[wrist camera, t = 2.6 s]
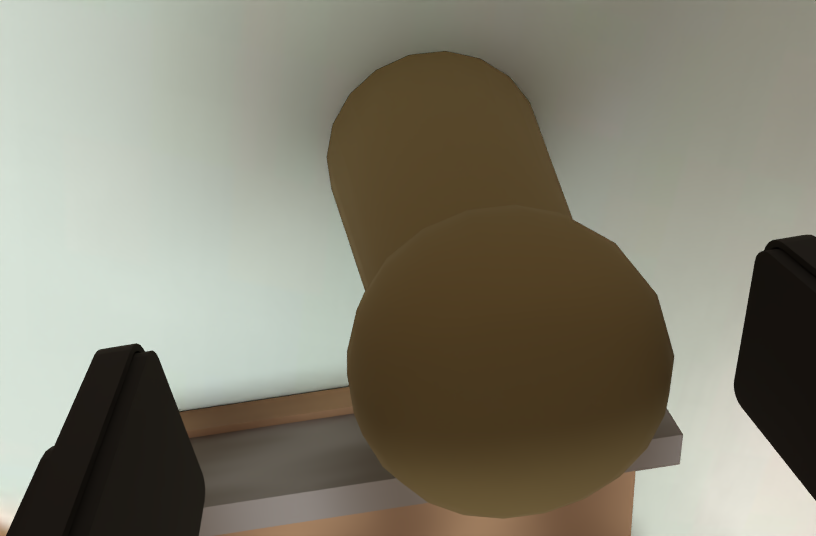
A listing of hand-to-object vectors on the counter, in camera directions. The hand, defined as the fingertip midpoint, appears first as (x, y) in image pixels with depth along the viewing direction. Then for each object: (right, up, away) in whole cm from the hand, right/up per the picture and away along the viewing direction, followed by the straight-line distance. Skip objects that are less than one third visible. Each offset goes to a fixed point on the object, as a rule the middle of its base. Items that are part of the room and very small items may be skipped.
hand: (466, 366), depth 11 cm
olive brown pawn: (0, +5, +9) cm, 10 cm away
